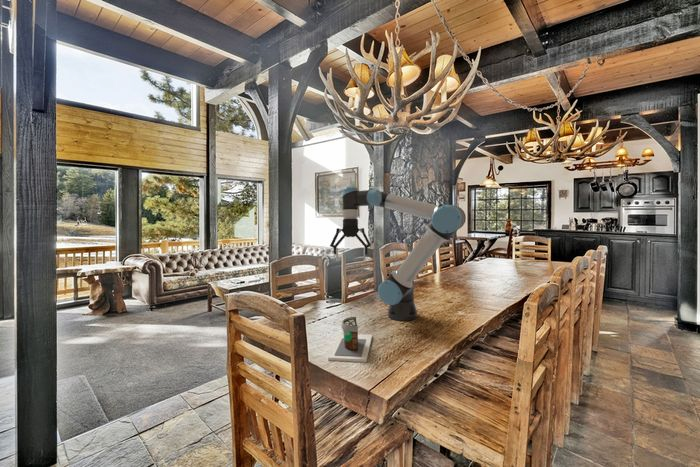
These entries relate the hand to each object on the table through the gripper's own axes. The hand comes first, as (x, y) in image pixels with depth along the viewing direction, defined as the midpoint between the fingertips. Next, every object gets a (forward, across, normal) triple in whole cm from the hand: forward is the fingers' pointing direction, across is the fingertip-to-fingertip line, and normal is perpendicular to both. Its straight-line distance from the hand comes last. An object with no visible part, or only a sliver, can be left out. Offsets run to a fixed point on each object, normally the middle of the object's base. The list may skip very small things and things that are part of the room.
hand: (350, 261), depth 164 cm
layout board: (+32, -2, +33) cm, 46 cm away
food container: (+31, -1, +35) cm, 46 cm away
